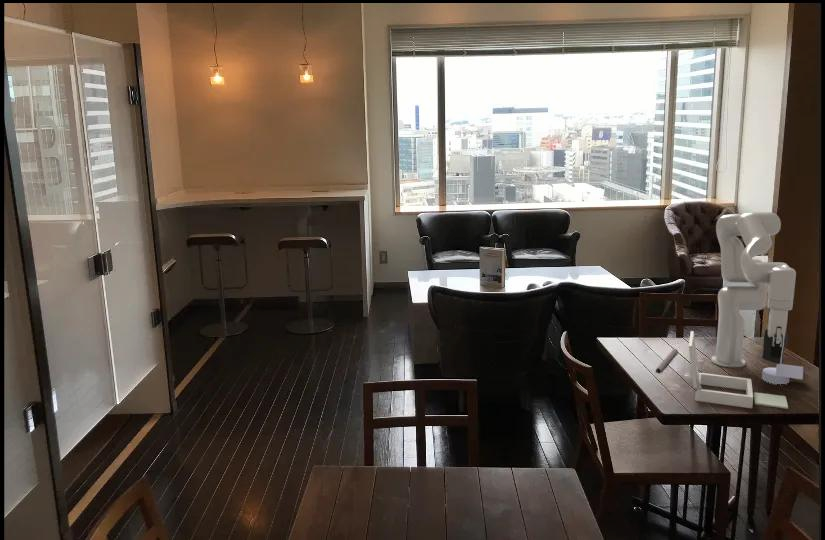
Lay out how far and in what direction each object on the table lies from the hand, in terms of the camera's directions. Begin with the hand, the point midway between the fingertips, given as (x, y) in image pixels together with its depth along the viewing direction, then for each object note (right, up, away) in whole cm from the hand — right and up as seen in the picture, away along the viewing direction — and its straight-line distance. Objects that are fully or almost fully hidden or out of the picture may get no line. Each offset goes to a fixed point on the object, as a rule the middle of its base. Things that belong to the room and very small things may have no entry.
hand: (774, 353), depth 229 cm
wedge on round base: (+14, -13, +21) cm, 29 cm away
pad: (0, -17, +4) cm, 17 cm away
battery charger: (0, -3, +1) cm, 3 cm away
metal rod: (-20, -9, +43) cm, 49 cm away
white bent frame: (-15, -16, +10) cm, 24 cm away
